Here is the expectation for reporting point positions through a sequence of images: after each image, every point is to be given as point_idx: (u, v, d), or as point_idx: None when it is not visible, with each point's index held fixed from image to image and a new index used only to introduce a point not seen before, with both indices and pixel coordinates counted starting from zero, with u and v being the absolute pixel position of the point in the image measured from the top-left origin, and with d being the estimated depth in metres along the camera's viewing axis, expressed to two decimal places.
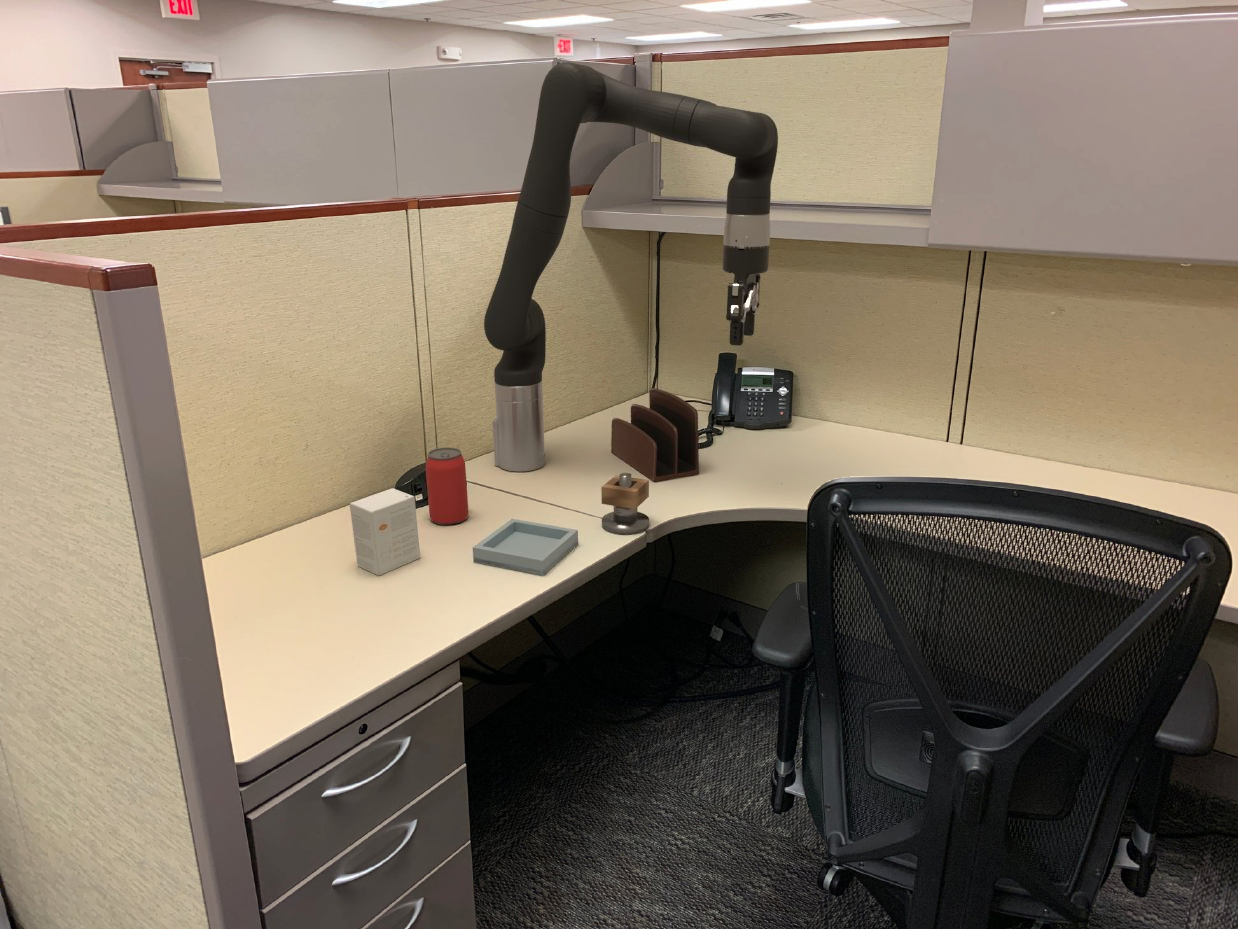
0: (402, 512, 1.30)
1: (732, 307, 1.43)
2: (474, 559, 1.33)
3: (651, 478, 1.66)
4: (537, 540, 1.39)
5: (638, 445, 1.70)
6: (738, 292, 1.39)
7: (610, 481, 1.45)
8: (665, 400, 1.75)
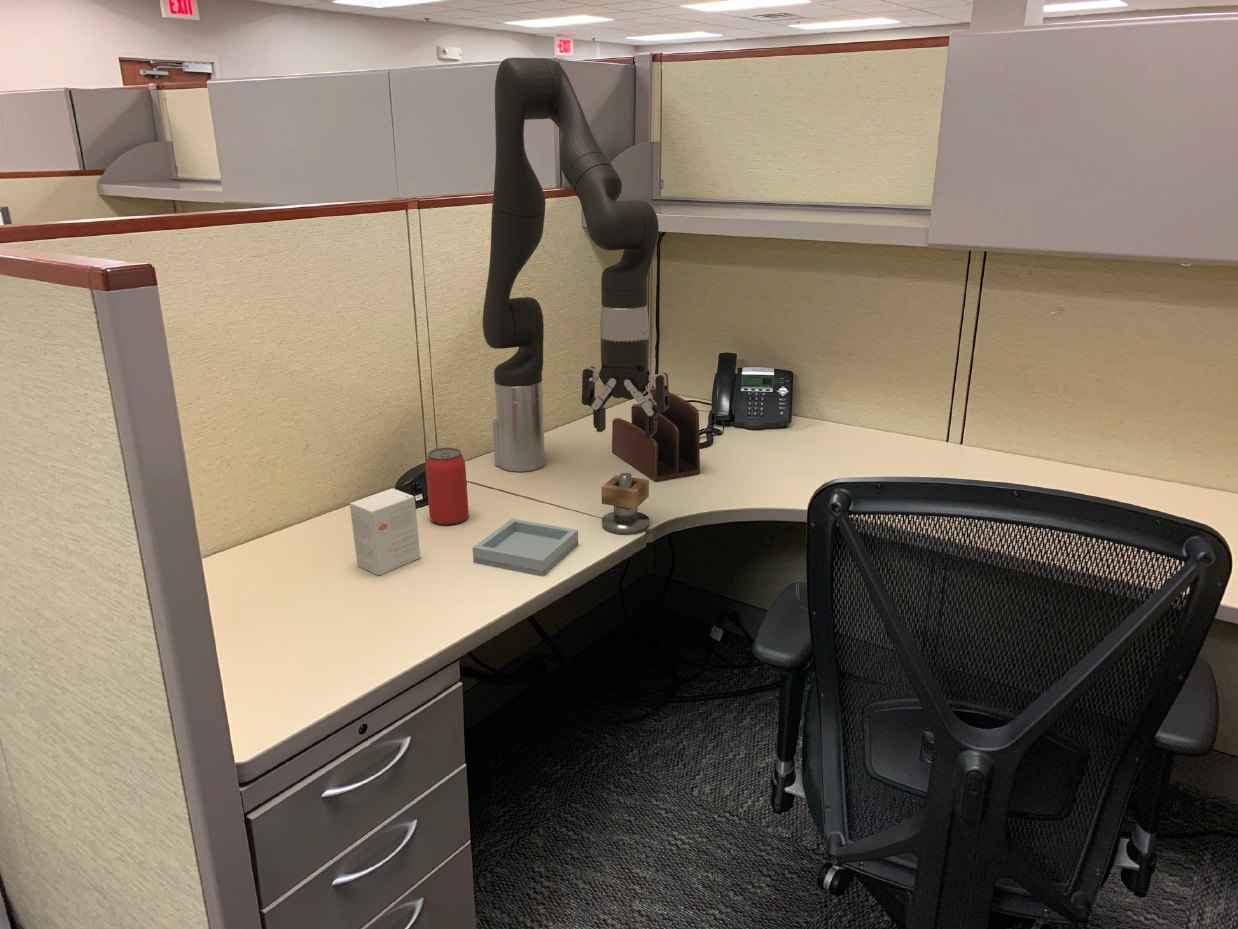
0: (402, 512, 1.30)
1: (647, 401, 1.36)
2: (474, 559, 1.33)
3: (652, 478, 1.66)
4: (537, 540, 1.39)
5: (639, 445, 1.70)
6: (666, 382, 1.36)
7: (610, 481, 1.45)
8: None
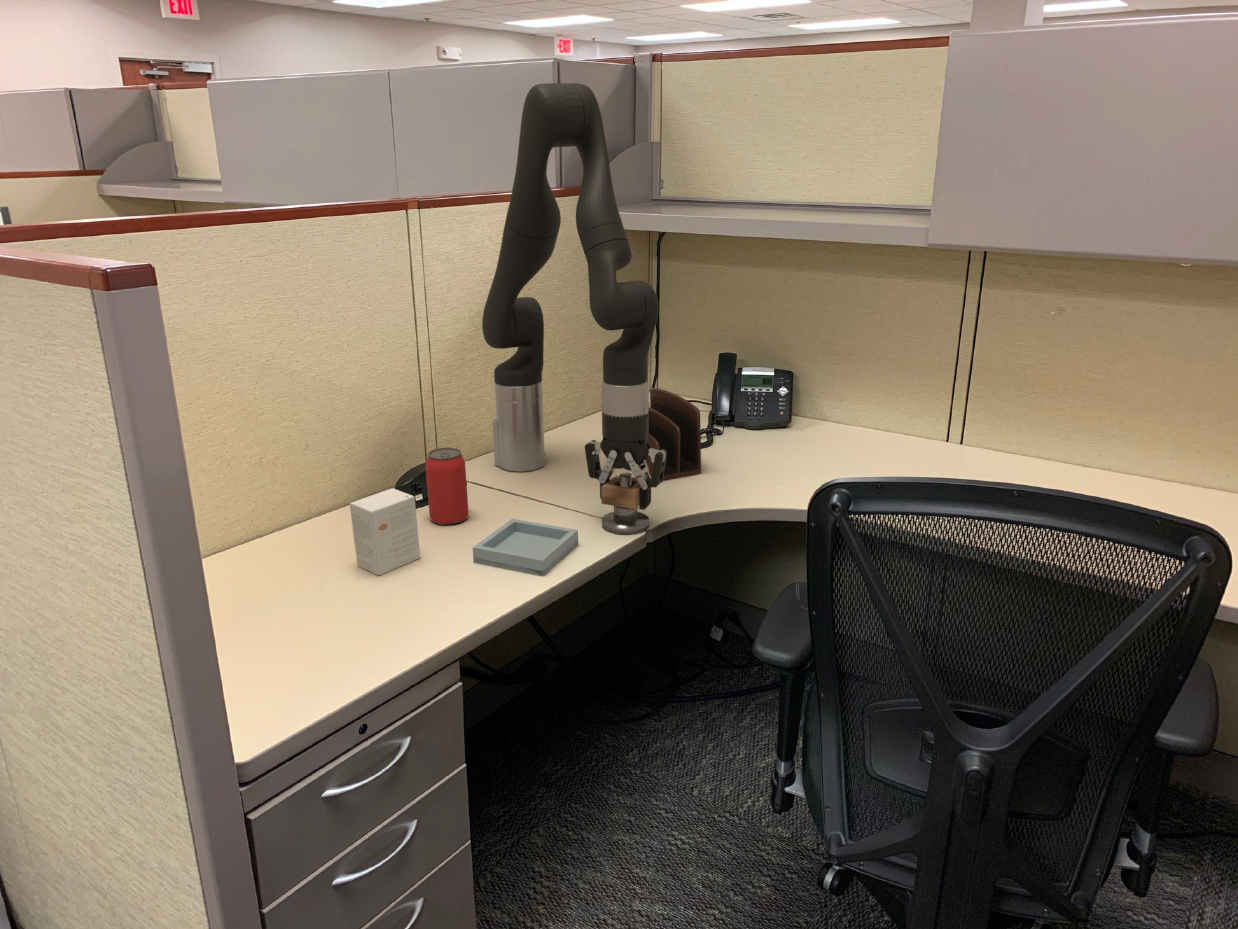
0: (402, 512, 1.30)
1: (643, 475, 1.41)
2: (474, 559, 1.33)
3: None
4: (537, 540, 1.39)
5: None
6: (665, 459, 1.40)
7: (610, 481, 1.45)
8: (667, 399, 1.75)
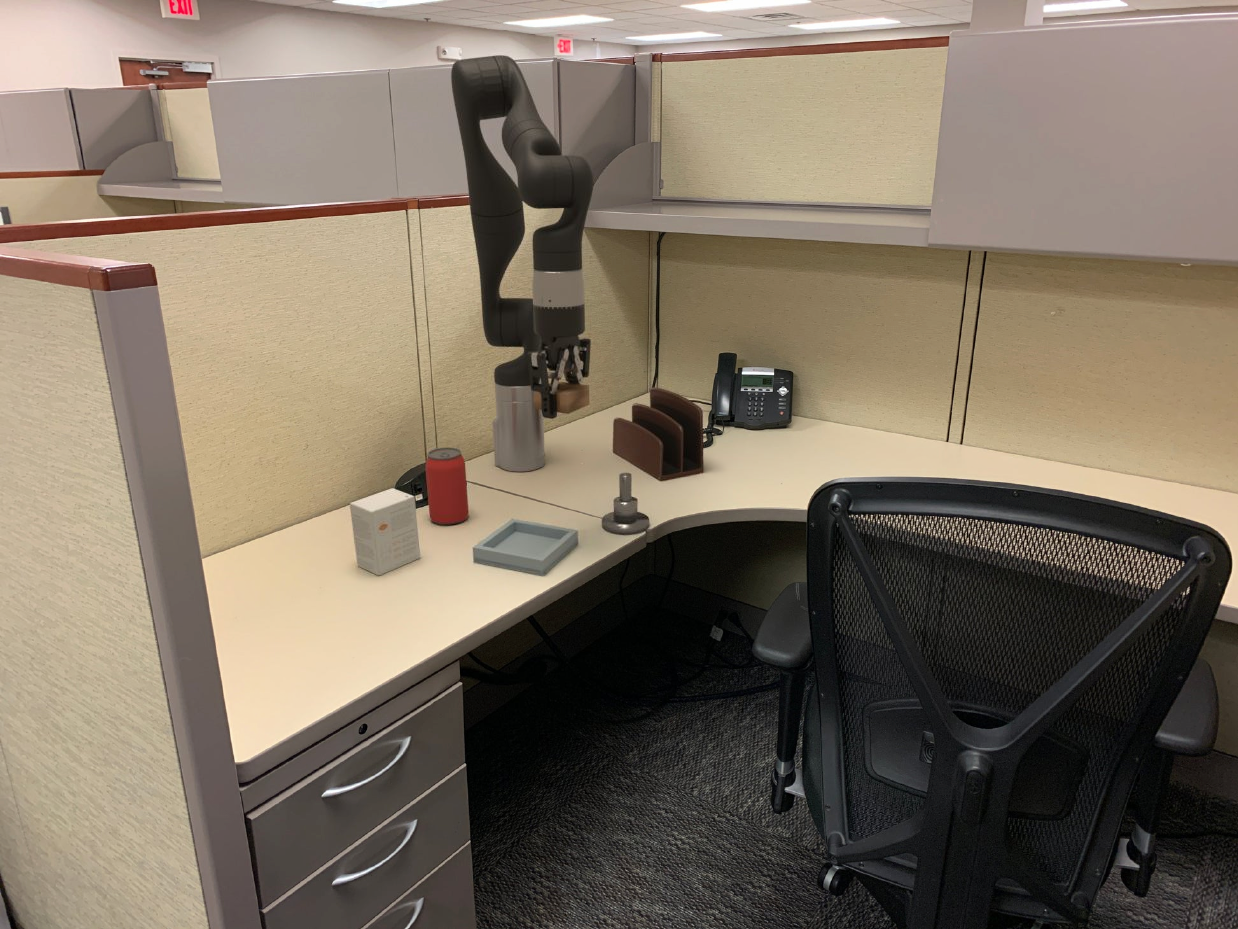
0: (402, 512, 1.30)
1: None
2: (474, 559, 1.33)
3: (657, 477, 1.66)
4: (537, 540, 1.39)
5: (642, 444, 1.70)
6: None
7: None
8: (668, 399, 1.76)
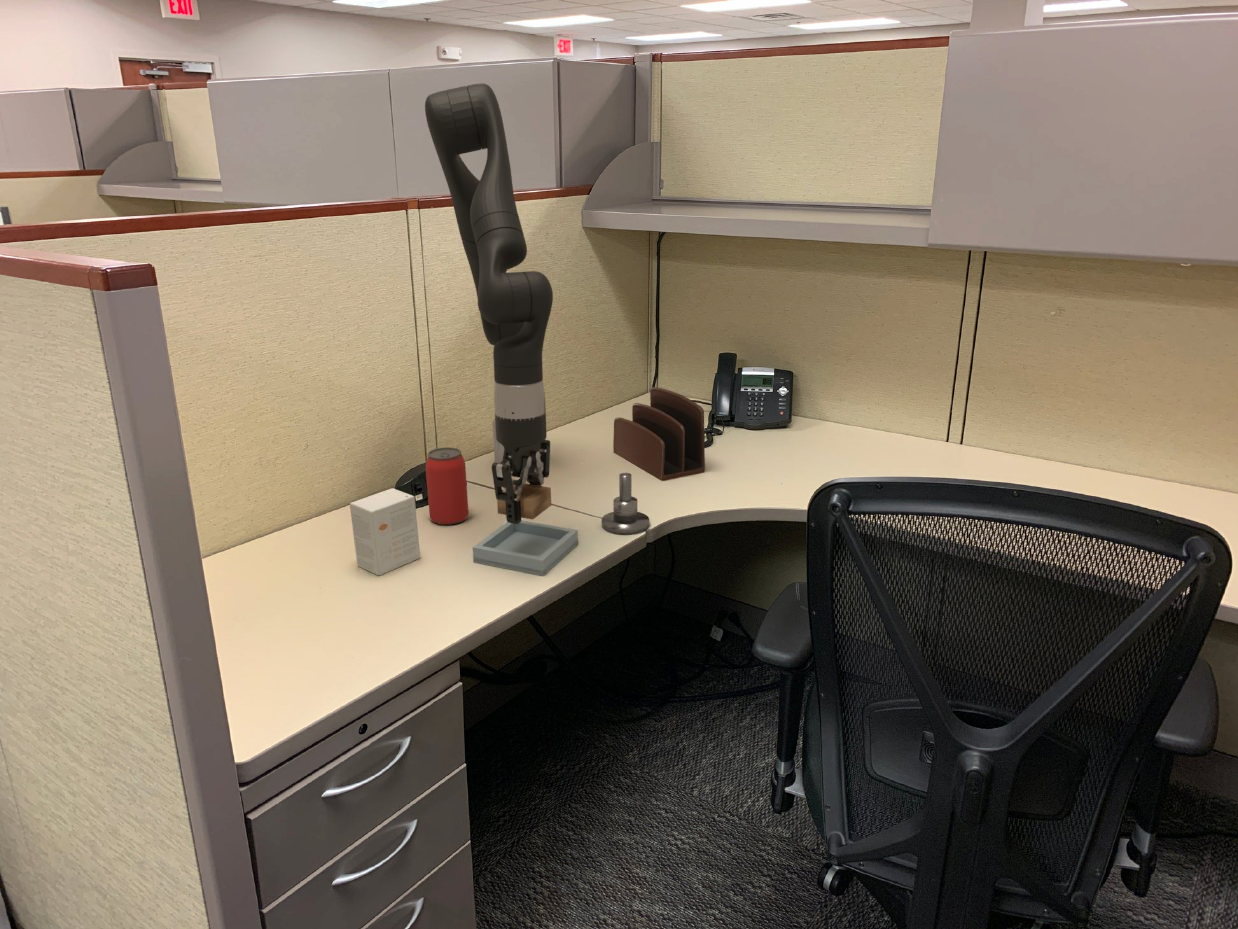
0: (402, 512, 1.30)
1: None
2: (474, 559, 1.33)
3: (659, 476, 1.67)
4: (537, 540, 1.39)
5: (643, 444, 1.70)
6: None
7: None
8: (668, 398, 1.76)
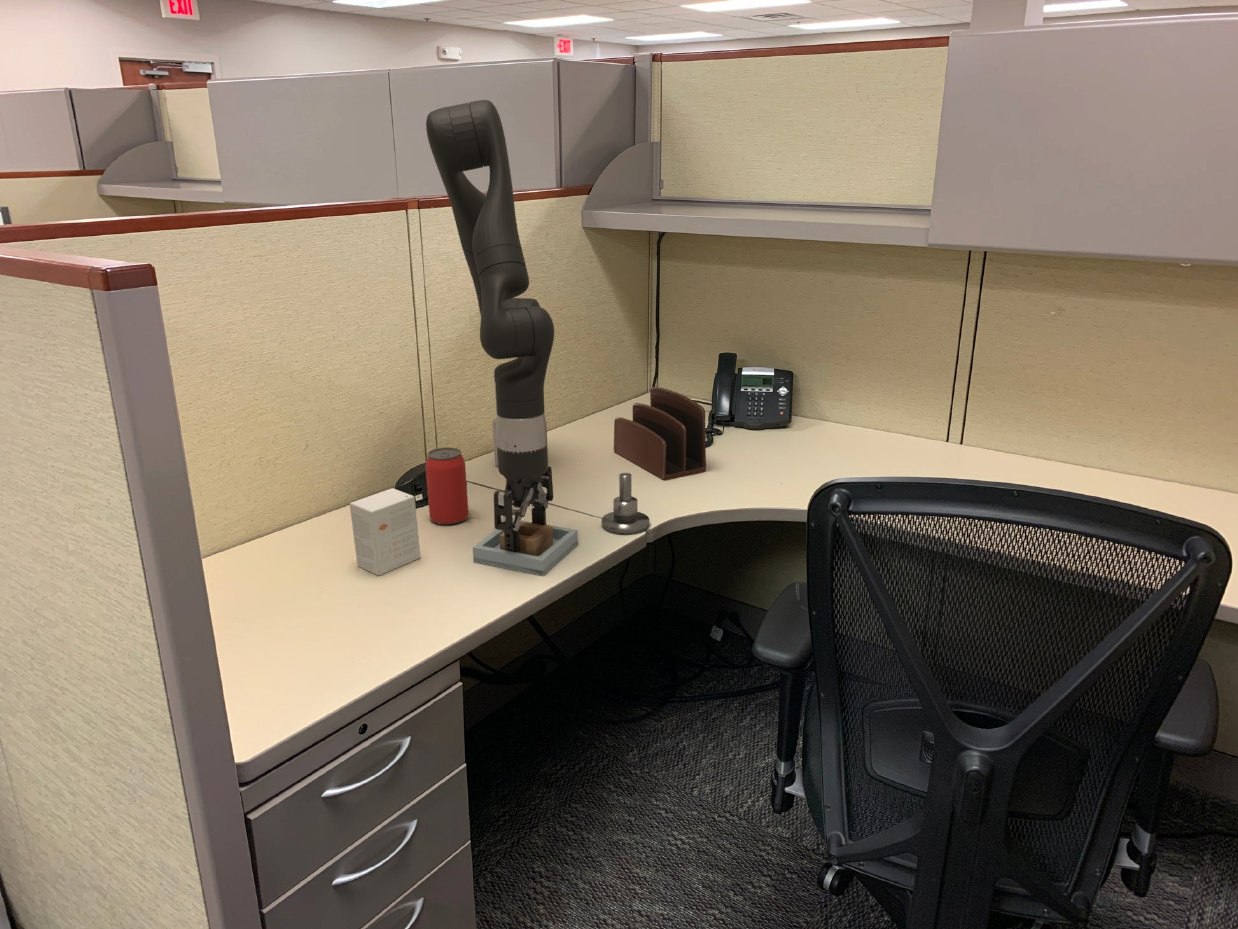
0: (402, 512, 1.30)
1: None
2: (474, 559, 1.33)
3: (660, 476, 1.67)
4: None
5: (644, 444, 1.70)
6: None
7: None
8: (669, 398, 1.76)
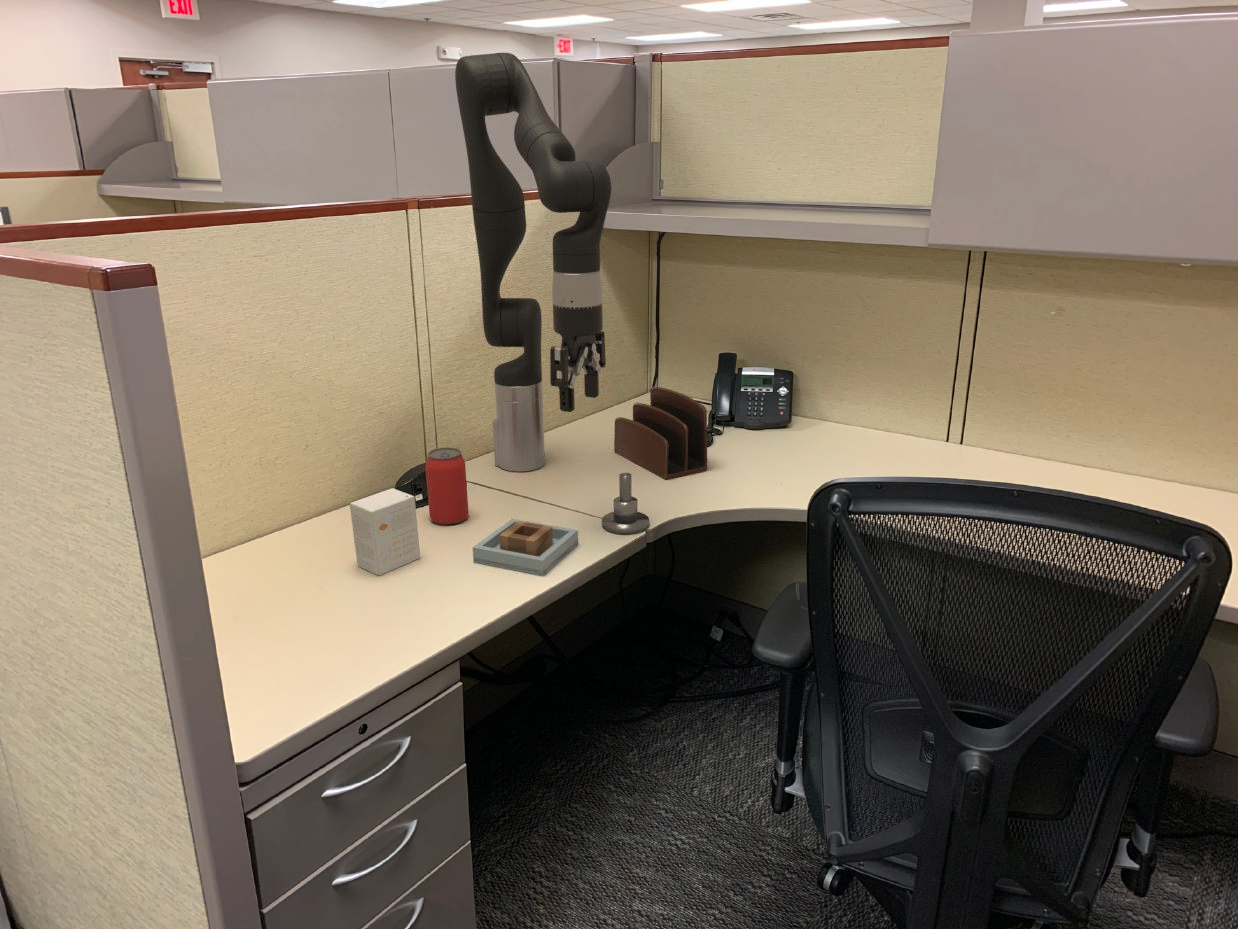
0: (402, 512, 1.30)
1: None
2: (474, 559, 1.33)
3: (662, 476, 1.67)
4: None
5: (646, 443, 1.71)
6: None
7: (518, 537, 1.32)
8: (669, 398, 1.76)
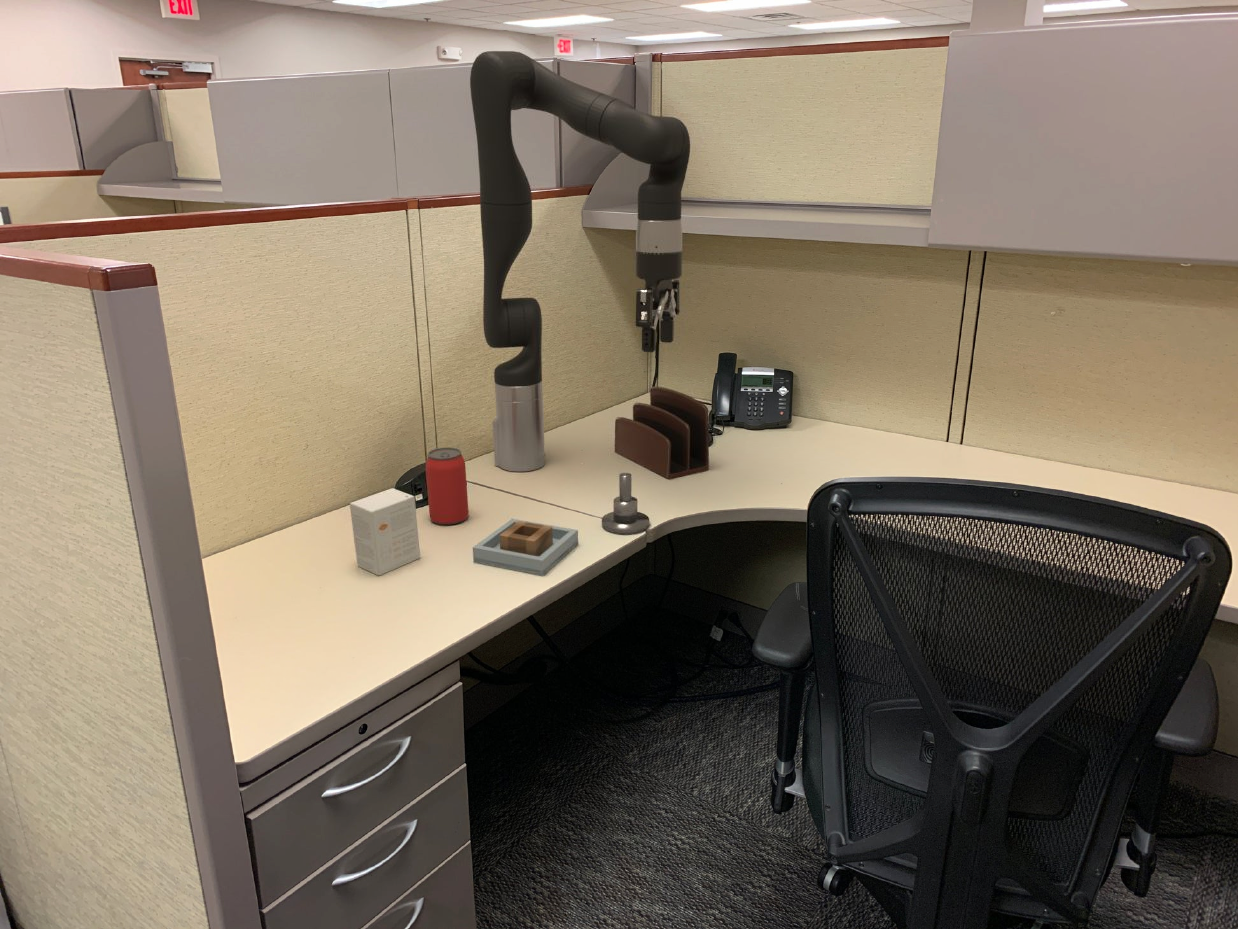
0: (402, 512, 1.30)
1: None
2: (474, 559, 1.33)
3: (664, 475, 1.67)
4: None
5: (648, 443, 1.71)
6: None
7: (518, 537, 1.32)
8: (670, 397, 1.77)
